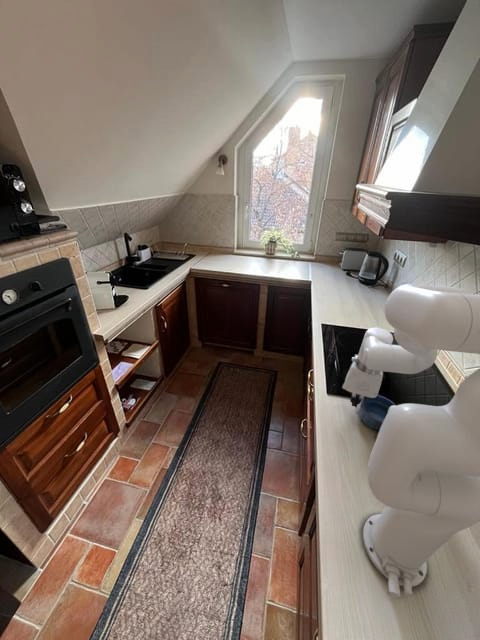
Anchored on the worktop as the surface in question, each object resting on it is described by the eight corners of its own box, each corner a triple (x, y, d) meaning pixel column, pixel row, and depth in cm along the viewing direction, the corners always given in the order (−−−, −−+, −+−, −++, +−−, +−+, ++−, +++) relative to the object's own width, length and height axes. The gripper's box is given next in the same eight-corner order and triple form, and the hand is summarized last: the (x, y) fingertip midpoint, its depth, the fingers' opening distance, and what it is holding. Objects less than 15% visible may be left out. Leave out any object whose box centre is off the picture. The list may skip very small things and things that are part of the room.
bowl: (396, 438, 82) (402, 428, 79) (356, 424, 86) (360, 414, 84) (394, 411, 91) (399, 401, 89) (358, 399, 96) (362, 389, 93)
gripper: (343, 365, 80) (331, 404, 89) (396, 378, 75) (377, 419, 85) (344, 351, 86) (333, 390, 95) (393, 363, 81) (376, 402, 91)
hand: (354, 403), depth 90 cm, fingers closed
